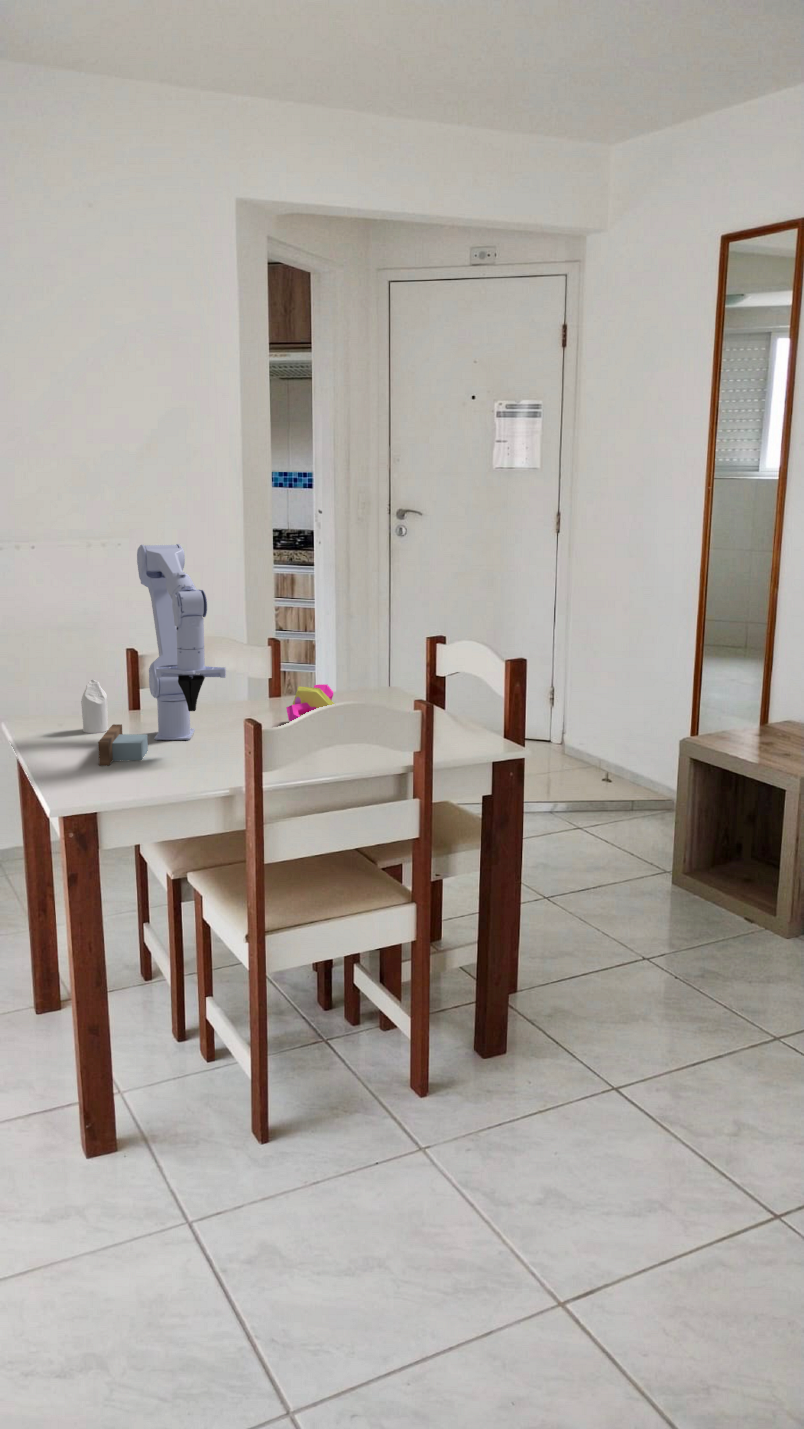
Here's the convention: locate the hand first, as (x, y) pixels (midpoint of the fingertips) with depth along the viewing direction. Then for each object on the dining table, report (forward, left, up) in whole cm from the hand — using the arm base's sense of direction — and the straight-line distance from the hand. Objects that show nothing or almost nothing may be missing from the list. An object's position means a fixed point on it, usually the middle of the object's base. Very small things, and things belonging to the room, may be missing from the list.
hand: (192, 710), depth 241 cm
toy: (-28, +25, -10) cm, 39 cm away
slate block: (+2, -13, -10) cm, 16 cm away
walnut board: (+2, -17, -9) cm, 20 cm away
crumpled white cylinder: (-21, -25, -10) cm, 34 cm away
